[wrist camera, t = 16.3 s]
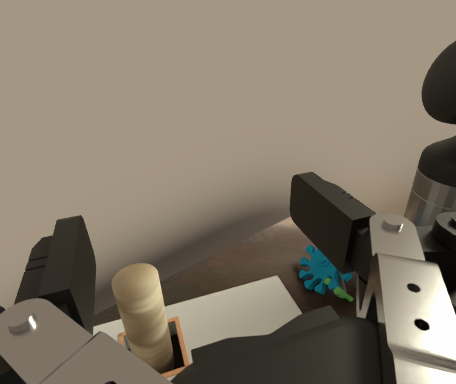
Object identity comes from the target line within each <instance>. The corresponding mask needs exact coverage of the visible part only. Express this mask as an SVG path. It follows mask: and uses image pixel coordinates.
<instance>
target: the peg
mask: <svg viewBox="0 0 456 384" xmlns="http://www.w3.org/2000/svg"><path fill="white" fill-rule="evenodd" d="M112 289H113V292H114V295H115V299H116V302H117V306H118V309H119V312H120V316H121V319H122V323H123V326H124V329H125V333H126V336H127V340H128V343H129V346H130V350H131V352H132V353H133V354H134V355H136V356H137V357H138V358H140V359H141V360H142V361H144V362H145V363H146V364H148V365H149V366H150V367H152V368H153V369H154V370H156V371H157V372H158V373H160V374H163V373H166V372H169V371H172V370H173V369H174V365H175V358H174V353H173V348H172V343H171V337H170V332H169V327H168V322H167V317H166V312H165V306H164V301H163V296H162V291H161V286H160V281H159V275H158V271H157V270H156V268H155V267H154V266H152V265H150V264H145V263H144V264H143V263H138V264H133V265H130V266H127V267H125V268H123V269H122V270H121V271H119V272H118V273H117V274H116V275H115V277H114V278H113V280H112Z"/></svg>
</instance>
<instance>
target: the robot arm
mask: <svg viewBox="0 0 456 384" xmlns="http://www.w3.org/2000/svg"><path fill="white" fill-rule="evenodd" d="M422 102H423V105H424V108H425V110H426V111H427V113H428V114H429V115H430V116H431V117H432V118H434V119H436V120H438V121H440V122H444V123H449V124H456V41H455V42H454V43H452V44H451V45H449V46H448V47H447V48H446V49H445V50H444V51H443V52H442V53H441V54H440V55H439V56H438V57H437V58H436V60H435V61H434V62H433V64H432V65H431V67H430V69H429V70H428V73H427V75H426V77H425V80H424V83H423V87H422ZM290 214H291V218H292V220H293V222H294V223H295V224H296V225H297V226H298V227H299V228H300V229H301V231H302V232H303V233H304V234H305V235H306V236H307V237H308V238H309V239H310V240H311V241H312V243H313V244H314V245H315V246H316V247H317V248H318V249H319V250H320V251H321V252H322V253H323V254H324V256H325V257H326V258H327V259H328V260H329V261H330V262H331V263H332V264H333V265H334V266H335V268H336V269H337V270H338V271H339V272H340V273H341V274H342V275H343V274H347V273H350V272H353V271H356V272H357V273H358V274H357V278H356V311H357V317H355V316H344V315H337V313H336V312H335V311H334V310H333V308H332V307H331V306H330V305H328V306H325V307H322V308H319V309H316V310H313V311H310V312H307V313H304V314H300V315H298V316H297V317H295V318H294V319H292V320H290V321H289V322H287V323H286V324H284V325H283V326H281V327H280V328H278V329H277V330H275V331H274V332H272V333H270V334H267V335H257V336H244V337H231V338H226V339H223V340H220V341H217V342H213V343H210V344H207V345H204V346H201V347H198V348H195V349H192V350H191V356H192V362H193V363H191V364H190V365H188V366H187V367H185V368H184V369H183V370H182V371H181V372H179V373H178V374H177V375H176V376H175V377H174V378H173V379H172V380H171V381H169V380H168V379H166V378H165V377H164V376H162V375H161V374H160V373H158V372H157V371H156V370H154V369H153V368H152V367H150V366H149V365H148V364H146V363H145V362H144V361H142V360H141V359H140V358H138V357H137V356H136V355H134V354H133V353H132V352H130V351H129V350H128V349H126V348H125V347H124V346H122V345H121V344H120V343H118V342H117V341H116V340H114V339H113V338H112V337H110V336H109V335H108V334H106V333H104V332H102V331H99V332H98V333H96V334H95V335H94V336H93V325H94V303H95V301H94V300H95V280H96V279H95V278H96V262H95V256H94V251H93V248H92V245H91V242H90V238H89V235H88V232H87V229H86V226H85V222H84V219H83V217H82V216H81V215H80V216H75V217H70V218H64V219H59V220H57V221H56V225H55V229H54V233H53V236H48V237H43V238H42V239H41V240H40V241H39V242H38V243H37V244H36V245H35V246H34V247H33V248H32V251H31V254H30V257H29V262H28V263H27V266H26V269H25V270H26V272H24V275H23V278H22V281H21V284H20V287H19V290H18V293H17V297H16V300H15V303H14V305H13V306H11V307H9V308H8V309H6V310H5V311H4V312H2V313H1V314H0V384H456V136H454V137H451V138H449V139H445V140H442V141H439V142H436V143H433V144H431V145H429V146H427V147H426V148H425V149H424V150H423V152H422V154H421V157H420V160H419V164H418V167H417V171H416V174H415V178H414V181H413V186H412V189H411V192H410V196H409V199H408V203H407V206H406V210H405V213H404V217H402V216H399V215H395V214H391V213H379V214H376V213H375V212H374V211H372V210H371V209H369V208H368V207H366V206H365V205H364V204H363V203H361V202H360V201H358V200H357V199H355V198H353V196H351V195H350V194H349V193H346V191H344V190H343V189H342V188H340V187H339V186H337V185H335V184H332V183H330V182H327V181H324V180H323V179H322V178H320V177H319V176H317V175H316V174H315V173H313V172H308V173H302V174H297V175H294V176H293V178H292V183H291V197H290Z"/></svg>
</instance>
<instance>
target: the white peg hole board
mask: <svg viewBox="0 0 456 384" xmlns="http://www.w3.org/2000/svg"><path fill="white" fill-rule="evenodd" d="M165 312H166V317H167V322H168V327H169V332H170V336H173V335H176V334H177V335H178V340H179V344H180V349H181V353H182V358H183V362H184V367H181V368H178V369H175V370H172V371H169V372H166V373H163V374H161V375H162V376H164V377H165V378H166V379H168V380H169V381H171V380H172V379H173V378H174V377H175V376H176V375H177V374H178V373H179V372H181V371H182V370H183V369H184V368H185V367H187V366H188V365H190V364H191V363H193V362H192V356H191V350H192V349H195V348H198V347H201V346H204V345H207V344H210V343H213V342H217V341H220V340H223V339H226V338H231V337H244V336H257V335H267V334H270V333H272V332H274V331H275V330H277V329H278V328H280V327H281V326H283V325H284V324H286V323H287V322H289V321H290V320H292V319H294V318H295V317H297V316H298V315H300V314H302V312H301V311H300V309H299V308H298V306H297V305H296V303H295V302H294V300H293V299H292V297H291V296H290V294H289V293H288V291H287V290H286V288H285V287H284V285H283V284H282V282H281V281H280V279H279V278H278V276H274V277H270V278H266V279H263V280H259V281H256V282H252V283H249V284H245V285H241V286H238V287H234V288H231V289H227V290H223V291H220V292H216V293H213V294H209V295H206V296H202V297H198V298H195V299H191V300H188V301H184V302H181V303H177V304H173V305H170V306H166V307H165ZM99 331H102V332H104V333H106V334H108V335H109V336H110V337H112V338H113V339H114V340H116V341H117V342H118V343H120V344H121V345H122V346H124V347H125V348H126V349H130V346H129V343H128V340H127V336H126V333H125V329H124V326H123V323H122V319H120V320H116V321H113V322H109V323H105V324H102V325H98V326H95V327H93V336H94V335H95V334H96V333H98V332H99Z"/></svg>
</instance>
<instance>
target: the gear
mask: <svg viewBox="0 0 456 384" xmlns="http://www.w3.org/2000/svg"><path fill="white" fill-rule="evenodd" d="M306 251H307V252H308V253H309V254H310V255H311V260H310V261H309V260H308V259H306V258H305V257H302V259H301V260H300V264H301V265H302V266H303V267H306V266H309V267H310V270H309V271H308V272H306V271H304V270H301V271H300V273H299V277H300V278H301V279H303V280H306V279H307V278H308V277H311V276H314V277H313V279H312V280H306V281H305V282H304V285H305V287H306V288H307V289H308V290H312V289H313V288H314V286H315V285H316V284H317V283H318V282H319V281H321V280H322V281H321V283H320V284H318V285H316V286H315V288H314V290H315V291H316V292H318V293H319V294H322V295H323V294H324V293H325V289H326V285H327V286H328V288H329V289H330V290H331V291H333V292H334V294H335V295H336V296H337V297H339V298H345V299H347V300H348V301H349V302H352V301H353V298H352V297H351V296H350V295H348V294H347V290H346V287H345V284H344V281H346V282H347V281H349V280H350V279H351V278H352V277H353V276H352V274H351V273H347V274H343V275H342V274H341V273H340V272H339V271H338V270H337V269H336V268H335V266H334V265H333V264H332V263H331V262H330V261H329V260H328V259H327V258H326V257H325V256H324V254H323V253H322V252H321V251H320V250H319V249H318V248H317V250H316V252H315V247H313V246H312V245H309V246H308V247H307V248H306ZM343 280H344V281H343Z"/></svg>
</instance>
